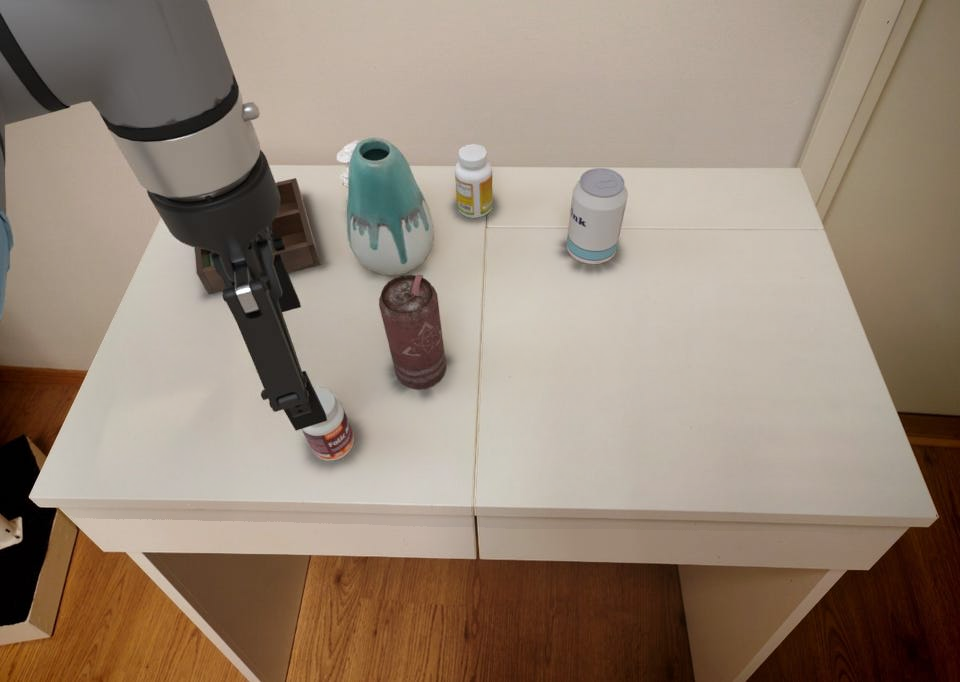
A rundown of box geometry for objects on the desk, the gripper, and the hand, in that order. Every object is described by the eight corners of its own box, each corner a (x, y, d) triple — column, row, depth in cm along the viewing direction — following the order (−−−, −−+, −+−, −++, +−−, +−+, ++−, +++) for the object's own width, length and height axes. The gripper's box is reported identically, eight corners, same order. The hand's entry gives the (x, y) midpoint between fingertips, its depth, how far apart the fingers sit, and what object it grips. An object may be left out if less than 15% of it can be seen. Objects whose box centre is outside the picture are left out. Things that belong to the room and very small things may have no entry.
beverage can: (559, 240, 85) (566, 170, 76) (604, 230, 86) (617, 160, 76) (575, 273, 81) (585, 204, 71) (623, 263, 82) (639, 193, 72)
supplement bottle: (490, 193, 92) (489, 138, 84) (495, 216, 89) (494, 161, 81) (455, 197, 91) (451, 142, 84) (459, 220, 88) (455, 165, 81)
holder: (208, 294, 81) (196, 273, 77) (201, 223, 90) (190, 202, 86) (320, 264, 83) (313, 243, 80) (303, 198, 92) (295, 177, 89)
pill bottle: (342, 467, 64) (324, 429, 58) (304, 454, 66) (282, 415, 59) (362, 430, 67) (347, 390, 60) (325, 418, 68) (306, 377, 62)
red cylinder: (452, 353, 73) (444, 274, 62) (438, 395, 70) (427, 320, 59) (405, 345, 74) (389, 265, 63) (389, 386, 71) (369, 310, 59)
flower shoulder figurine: (373, 227, 88) (357, 158, 78) (346, 228, 88) (328, 159, 78) (378, 189, 93) (364, 120, 84) (353, 189, 93) (337, 121, 84)
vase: (451, 266, 83) (441, 156, 68) (375, 299, 79) (348, 190, 65) (414, 219, 89) (397, 109, 75) (342, 247, 85) (310, 138, 71)
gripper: (294, 286, 31) (369, 465, 48) (243, 61, 45) (314, 259, 62) (144, 327, 29) (275, 496, 46) (140, 82, 44) (241, 279, 61)
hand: (298, 361), depth 54 cm, fingers open, 13 cm apart
